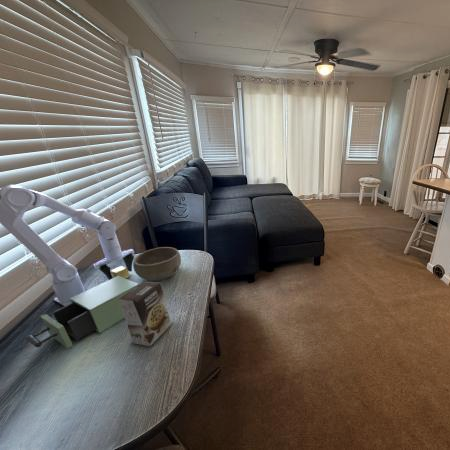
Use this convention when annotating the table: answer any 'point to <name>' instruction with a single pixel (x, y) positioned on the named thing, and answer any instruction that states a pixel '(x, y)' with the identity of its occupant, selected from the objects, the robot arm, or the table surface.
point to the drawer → (65, 325)
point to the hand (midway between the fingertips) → (120, 275)
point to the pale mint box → (105, 301)
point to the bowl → (157, 263)
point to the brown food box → (145, 312)
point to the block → (120, 272)
